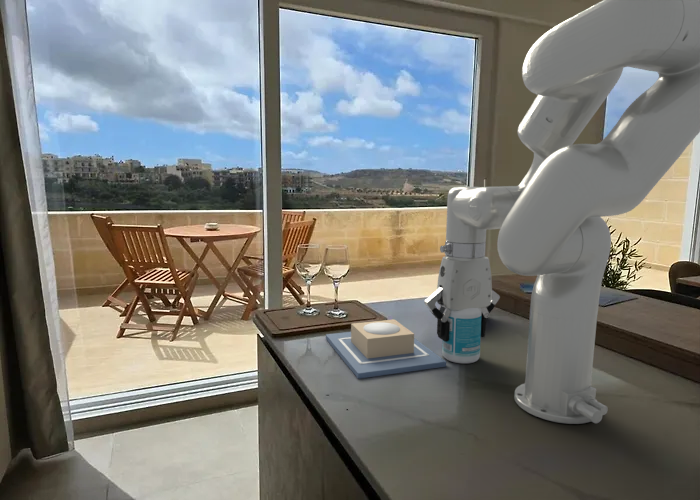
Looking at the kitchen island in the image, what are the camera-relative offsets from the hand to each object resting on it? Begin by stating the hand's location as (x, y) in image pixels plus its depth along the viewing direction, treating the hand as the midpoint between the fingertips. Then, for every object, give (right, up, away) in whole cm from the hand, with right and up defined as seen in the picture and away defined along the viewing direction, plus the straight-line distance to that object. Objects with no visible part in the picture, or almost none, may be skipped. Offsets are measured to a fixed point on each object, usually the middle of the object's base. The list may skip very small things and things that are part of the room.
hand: (461, 336), depth 94 cm
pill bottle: (0, -5, +1) cm, 5 cm away
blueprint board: (-16, -4, +4) cm, 17 cm away
